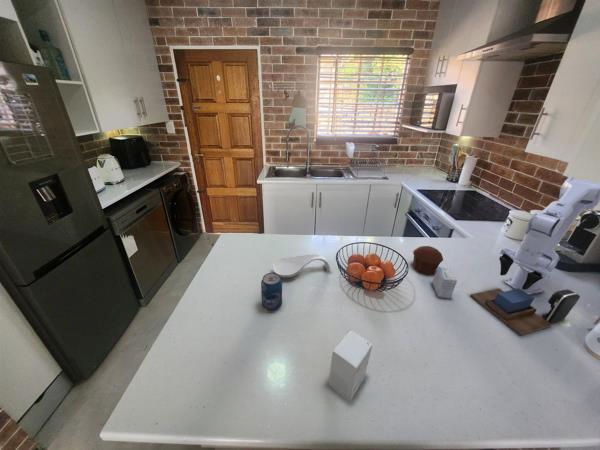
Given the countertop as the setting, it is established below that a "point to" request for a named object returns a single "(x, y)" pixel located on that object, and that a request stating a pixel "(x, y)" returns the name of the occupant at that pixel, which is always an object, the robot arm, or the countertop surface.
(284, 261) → the spoon rest
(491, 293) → the mounting pad
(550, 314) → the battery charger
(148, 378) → the countertop surface
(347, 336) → the small box
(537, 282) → the robot arm
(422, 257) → the muffin
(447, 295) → the medicine box
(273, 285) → the soda can
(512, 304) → the blue block
